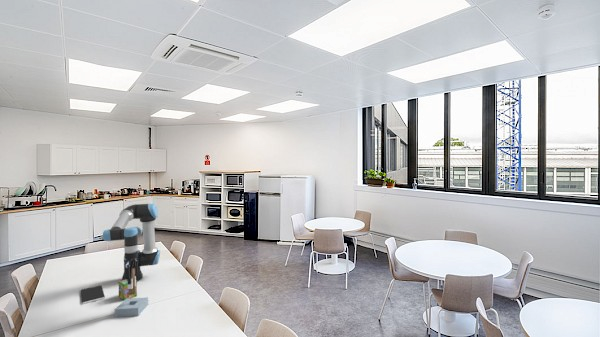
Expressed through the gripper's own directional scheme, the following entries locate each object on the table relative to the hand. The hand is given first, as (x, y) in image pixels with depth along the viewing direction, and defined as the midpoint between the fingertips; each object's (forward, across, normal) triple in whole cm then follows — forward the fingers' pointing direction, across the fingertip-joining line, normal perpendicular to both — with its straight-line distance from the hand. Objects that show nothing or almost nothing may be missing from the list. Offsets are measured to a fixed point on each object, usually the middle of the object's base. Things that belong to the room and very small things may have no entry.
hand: (131, 287), depth 184 cm
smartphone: (+16, -28, -41) cm, 52 cm away
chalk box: (+16, -21, -13) cm, 29 cm away
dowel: (+4, 0, 0) cm, 4 cm away
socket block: (+15, 0, 0) cm, 15 cm away
